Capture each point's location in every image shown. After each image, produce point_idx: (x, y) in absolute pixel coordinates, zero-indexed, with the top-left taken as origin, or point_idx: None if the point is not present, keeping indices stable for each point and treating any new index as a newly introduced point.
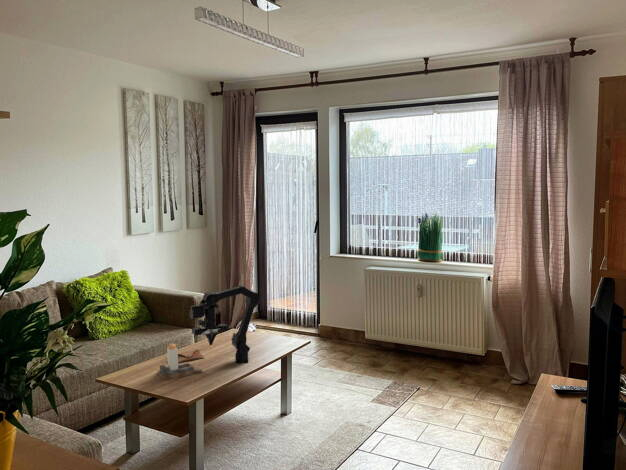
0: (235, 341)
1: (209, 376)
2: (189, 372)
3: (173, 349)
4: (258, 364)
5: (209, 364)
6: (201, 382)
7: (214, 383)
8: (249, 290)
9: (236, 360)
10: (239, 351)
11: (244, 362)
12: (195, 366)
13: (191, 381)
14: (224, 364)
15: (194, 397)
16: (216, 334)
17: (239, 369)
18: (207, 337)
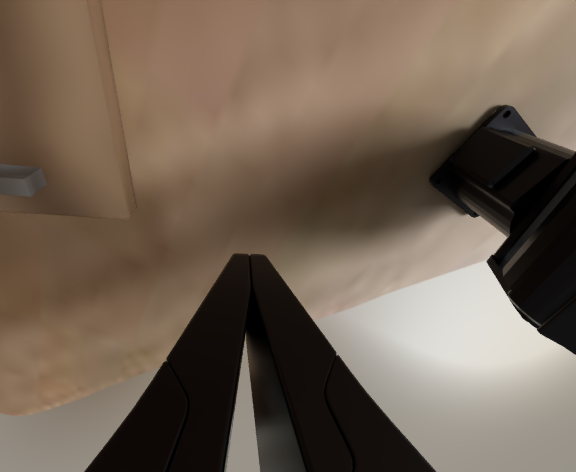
0: (568, 329)
1: (164, 281)
2: (5, 209)
3: None
4: (473, 261)
5: (263, 46)
6: (99, 325)
7: (161, 351)
8: None
9: (454, 165)
10: (516, 223)
11: (460, 206)
12: (75, 99)
13: (36, 296)
14: (358, 144)
15: (47, 409)
16: None
17: (356, 272)
18: (138, 454)
